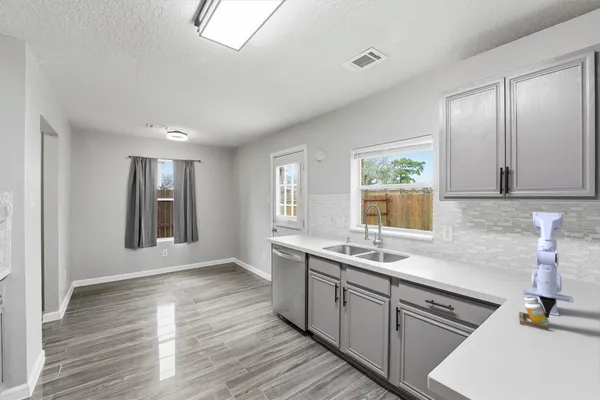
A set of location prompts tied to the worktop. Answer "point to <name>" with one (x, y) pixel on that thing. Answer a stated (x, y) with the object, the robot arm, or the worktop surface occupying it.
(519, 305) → the worktop surface
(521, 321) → the walnut stop
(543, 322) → the supplement bottle
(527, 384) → the worktop surface
